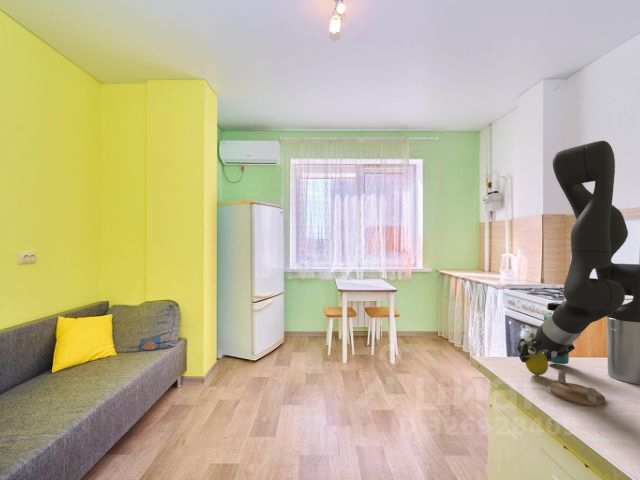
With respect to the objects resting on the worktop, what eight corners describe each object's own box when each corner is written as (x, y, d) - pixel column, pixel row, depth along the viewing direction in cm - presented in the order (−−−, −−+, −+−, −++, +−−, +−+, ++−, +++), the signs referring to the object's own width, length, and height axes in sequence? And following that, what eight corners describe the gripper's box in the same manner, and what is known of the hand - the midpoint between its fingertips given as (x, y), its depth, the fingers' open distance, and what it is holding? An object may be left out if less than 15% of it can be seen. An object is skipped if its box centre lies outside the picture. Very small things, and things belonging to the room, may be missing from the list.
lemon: (552, 380, 89) (551, 352, 89) (530, 379, 90) (530, 351, 90) (542, 373, 94) (542, 346, 94) (522, 371, 95) (521, 345, 95)
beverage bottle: (570, 365, 100) (569, 303, 101) (568, 371, 96) (566, 306, 96) (545, 360, 105) (544, 300, 105) (542, 365, 100) (541, 303, 101)
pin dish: (551, 382, 88) (550, 368, 88) (603, 393, 81) (603, 378, 81) (548, 397, 79) (548, 381, 79) (606, 411, 72) (606, 394, 72)
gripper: (579, 318, 84) (551, 348, 96) (524, 318, 86) (503, 347, 97) (596, 344, 79) (564, 372, 91) (537, 343, 80) (512, 371, 92)
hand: (532, 359), depth 94 cm, fingers closed on lemon, 5 cm apart
